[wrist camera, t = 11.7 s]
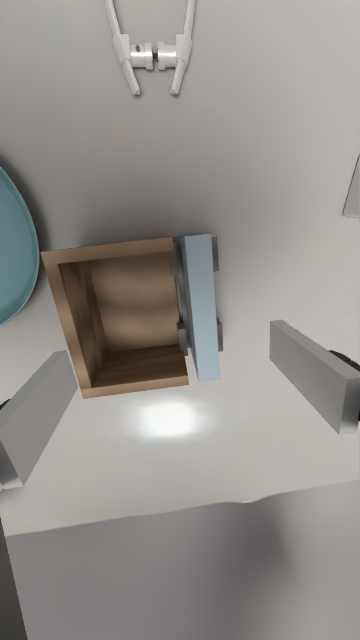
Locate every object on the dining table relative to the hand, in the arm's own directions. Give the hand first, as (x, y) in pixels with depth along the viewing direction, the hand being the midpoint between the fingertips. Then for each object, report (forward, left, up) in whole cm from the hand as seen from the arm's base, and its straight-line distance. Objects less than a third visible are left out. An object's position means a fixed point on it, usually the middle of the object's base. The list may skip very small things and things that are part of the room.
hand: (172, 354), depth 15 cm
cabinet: (+1, -2, -19) cm, 19 cm away
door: (+1, +4, -19) cm, 19 cm away
